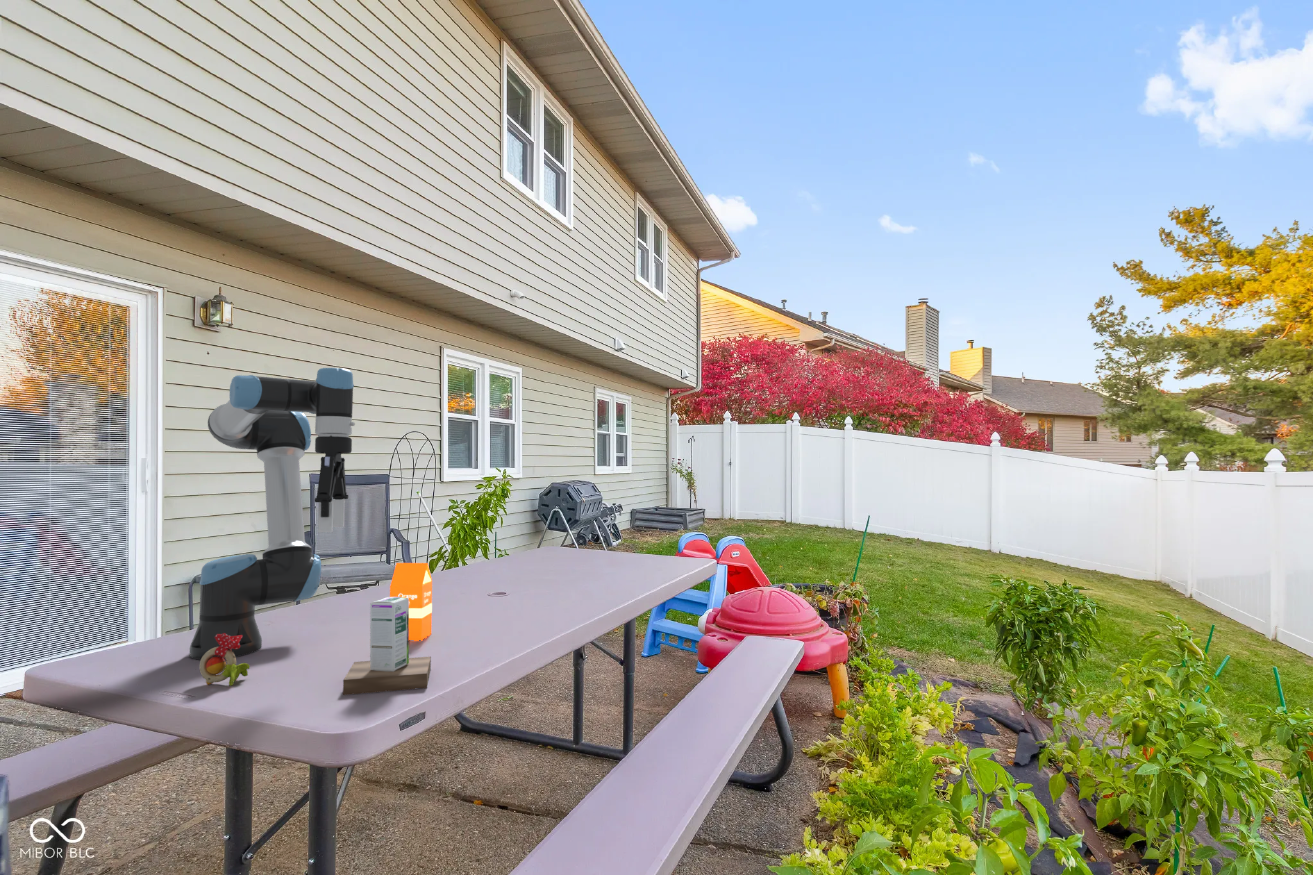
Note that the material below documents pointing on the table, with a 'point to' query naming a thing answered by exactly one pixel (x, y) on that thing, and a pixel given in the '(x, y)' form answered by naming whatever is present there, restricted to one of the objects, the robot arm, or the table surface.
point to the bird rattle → (222, 661)
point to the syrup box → (389, 633)
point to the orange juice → (415, 596)
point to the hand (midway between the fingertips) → (331, 529)
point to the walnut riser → (387, 677)
